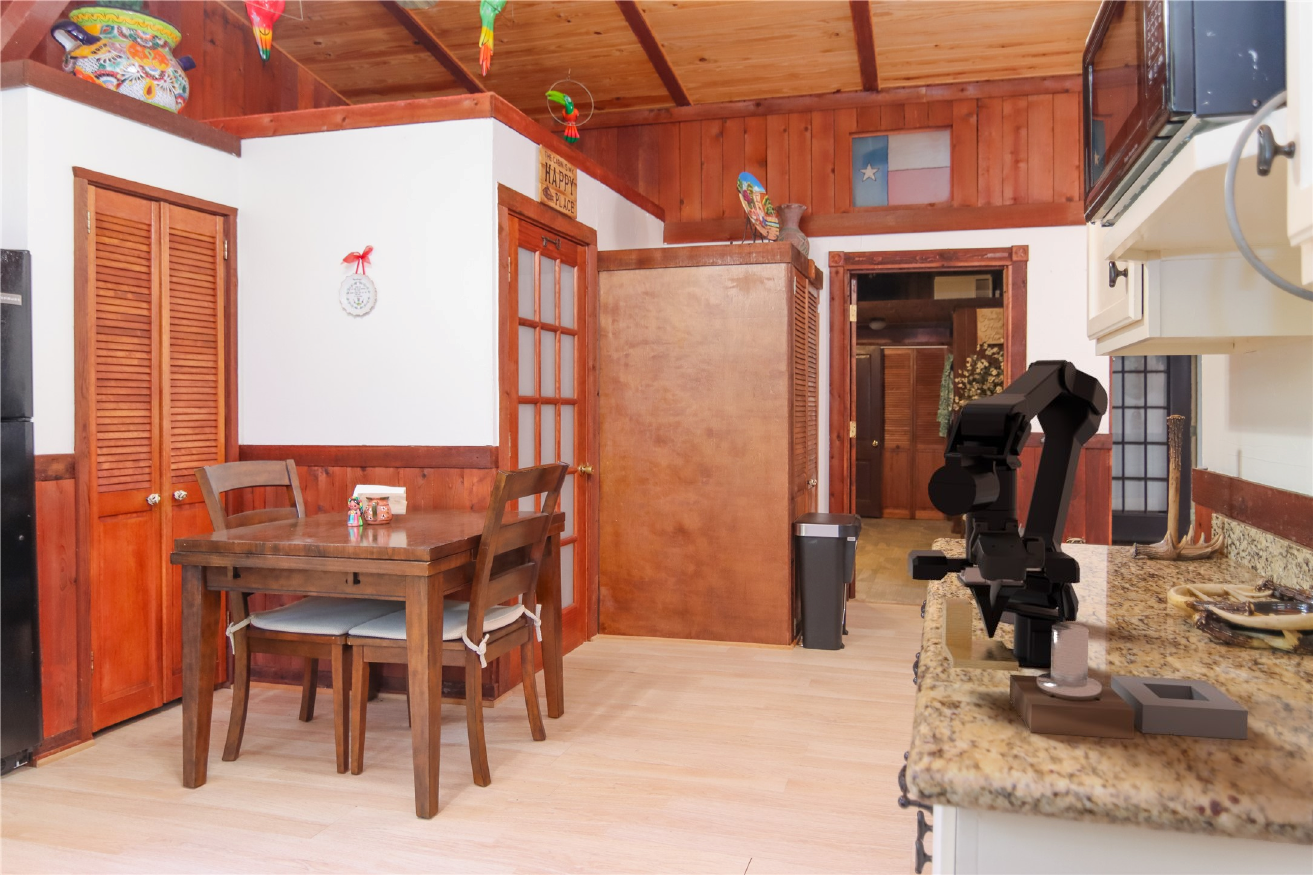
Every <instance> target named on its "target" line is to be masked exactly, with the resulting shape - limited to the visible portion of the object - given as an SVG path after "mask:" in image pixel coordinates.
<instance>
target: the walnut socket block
mask: <svg viewBox="0 0 1313 875" xmlns="http://www.w3.org/2000/svg"><path fill="white" fill-rule="evenodd" d="M1038 676H1039V675H1025V674H1024V675H1023V674H1009V698H1008V699H1010V700H1009V702H1010V701H1011V702H1012V703H1011V702H1010V703H1011V705H1012V704H1013V705H1014V706H1013V705H1012V706H1013V708H1014V707H1015V708H1016V709H1015V708H1014V709H1015V711H1016V710H1017V711H1018V712H1017V711H1016V712H1017V714H1018V713H1019V714H1020V715H1019V714H1018V715H1019V717H1020V716H1021V717H1022V718H1021V717H1020V718H1021V719H1023V720H1024V721H1023V720H1022V721H1023V723H1024V722H1025V723H1026V724H1025V723H1024V724H1025V725H1027V726H1026V727H1027V729H1028V728H1029V729H1028V730H1029V732H1030V731H1031V732H1030V733H1034V732H1035V733H1034V734H1052V735H1067V736H1081V737H1082V736H1084V737H1096V738H1097V737H1098V738H1099V737H1101V738H1110V739H1111V738H1113V739H1127V740H1128V739H1129V740H1133V739H1134V736H1135V725H1134V715H1135V710H1134V709H1133V708H1132V707H1131V706H1130V705H1129V704H1128V703H1127V702H1126V701H1125V700H1124V699H1122V698H1121V697H1120V696H1119V695H1118V694H1117V693H1116V692H1115V691H1114V690H1113V689H1112V688H1111V685H1109V684H1108V683H1107V682H1106V681H1105V680H1104V679H1097V678H1096V679H1095V678H1093V679H1094V680H1096V681H1098V682H1099V683H1100V684H1101V685H1102V691H1101V697H1100V698H1099V699H1096V700H1092V701H1070V700H1063V699H1058V698H1051V697H1050V696H1048V695H1045V694H1043V693H1041V692H1040V691H1039V690H1038V689H1037V677H1038Z"/></svg>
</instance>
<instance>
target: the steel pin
mask: <svg viewBox="0 0 1313 875" xmlns="http://www.w3.org/2000/svg"><path fill="white" fill-rule="evenodd" d="M1088 661H1089V628H1088V627H1087V626H1083V625H1081V624H1075V623H1066V622H1064V623H1062V622H1061V623H1060V624H1054V625H1052V647H1051V667H1050V672H1046V673H1042V674H1039V675H1037V676H1038V677H1037V689H1038V690H1039V691H1040V692H1041V693H1043V694H1045V695H1048V696H1050V697H1051V698H1058V699H1063V700H1070V701H1092V700H1096V699H1099V698H1100V697H1101V691H1102V685H1101V684H1100V683H1099V682H1098V681H1096V680H1094V679H1095V678H1091V677H1090V676H1088V672H1089V670H1088V669H1089V668H1088V663H1089V662H1088Z"/></svg>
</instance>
